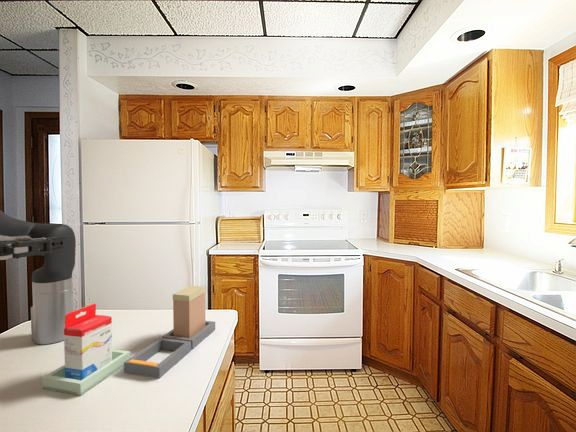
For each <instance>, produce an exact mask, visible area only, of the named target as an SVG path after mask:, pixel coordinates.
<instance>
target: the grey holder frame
mask: <svg viewBox="0 0 576 432" xmlns="http://www.w3.org/2000/svg"><path fill="white" fill-rule="evenodd" d="M215 330H216V321H211V320H205V327H204V328H203V329H202V330H200V331H199V332H198V333H197V334H195V335H194V336H193V337H192V338H185V337H177V336H174V328H173V329H171V330H170V331H168V332H166V333H165V334H164V335H162V336H161V337H159V338H158V339H156V340H154V341H153V342H152V343H150V344H149V345H148V346H146V347H144V348H143V349H142V350H140V351H138V352H137V353H136V354H134V355H133V356H130V359H128V360H127V361H125V362H124V366H123V370H124V371H123V373H125V374H129V375H135V376H142V377H148V378H155V379H161V378H162V377H163V376H165V374H167V372H170V370H171V369H172V368H173V367H174V366H176V365H177V364H178V363H179V362H180V361H181V360H183V358H185V357H186V356H187V355H188V354H189V353H191V352H192V350H194V349H196V347H197V346H198V345H200V344H201V343H202V342H203V341H204V340H205V339H206V338H207V337H209V336H210V335H211V334H212V333H213V332H214V331H215ZM161 350H166V351H173V352H172V353H170V354H169V355H168V356H166V357H165V358H164V359H163V360H161V361H160V362H154V361H148V360H149V359H151V358H152V357H153V356H155V355H156V354H157V353H159V351H161Z"/></svg>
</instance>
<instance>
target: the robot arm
mask: <svg viewBox="0 0 576 432" xmlns="http://www.w3.org/2000/svg"><path fill="white" fill-rule="evenodd" d="M76 241H77V240H76V234H75V232H74V230H73V228H72V227H70V226H69V225H67V224H64V223H40V222H31V221H26V220H23V219H22V220H21V219H18V218H14V217H11V216H9V215H8V214H6V213H5V212H3V211H2V210H1V209H0V261H2V260H3V261H5V260H8V259H11V258H12V259H15V260H16V259H18V260H19V259H20V258H26V257H27V258H28V257H33V256H44V263H43V265H42V267H40V268H38V269H35V270H33V271H32V273H31V283H32V284H31V286H32V290H31V291H32V306H30V326H31V327H30V329H31V330H30V332H31V340H32V341H33V343H34V344H37V345H49V344H55V343H59V342H62V341H63V342H64V328H65V315H66V314H68V313H70V312H73V311H74V299H73V272H74V269H75V265H76V251H77V250H76V245H77V244H76V243H77V242H76Z"/></svg>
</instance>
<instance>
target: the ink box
mask: <svg viewBox="0 0 576 432" xmlns="http://www.w3.org/2000/svg"><path fill="white" fill-rule="evenodd" d="M96 310H97V304H96V303H91V304H90V305H86V306H84V307H80V308H77V309H76V310H73V312H70V313H68V314H66V315H65V328H64V340H63V345H64V348H63V349H64V350H63V351H64V365H65V378H70V379H76V380H82V379H84V378H85V377H87V376H89V375H90V374H92V373H93V372H95V371H96V370H98V369H100V368H101V367H103V366H104V365H106V364H107V363H109V362H111V361H112V349H113V336H112V335H113V326H112V325H113V324H112V323H113V322H112V321H113V320H112V316H109V315H104V314H103V315H101V314H97V313H96ZM81 313H84V314H83V315H81V316H78V315H80V314H81ZM77 316H78V317H77Z"/></svg>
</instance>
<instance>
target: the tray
mask: <svg viewBox="0 0 576 432" xmlns="http://www.w3.org/2000/svg"><path fill="white" fill-rule="evenodd" d="M130 358H131V351H130V350H129V351H128V350H121V349H115V348H112V361H111V362H109V363H107V364H106V365H104V366H103V367H101V368H100V369H98V370H96V371H95V372H93V373H92V374H90V375H89V376H87V377H85V378H84V379H82V380H76V379H70V378H65V364H63V365H61V366H60V367H58V368H57V369H54V370H52V371H50V372H49V373H47V374H45V375H43V376H42V377H41V383H42V384H41V385H42V387H41V388H42V389H43V390H48V391H53V392H54V391H55V392H59V393H65V394H69V395H77V396H82V395H84V394H85V393H87V392H88V391H90V390H91V389H93V388H94V387H96V386H97V385H99V384H100V383H101V382H103V381H105V379H107V378H109V377H111V376H112V375H113V374H114V373H115V372H117V371H119V370H120V369H122V368H124V362H125V361H127V360H128V359H130Z"/></svg>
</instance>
